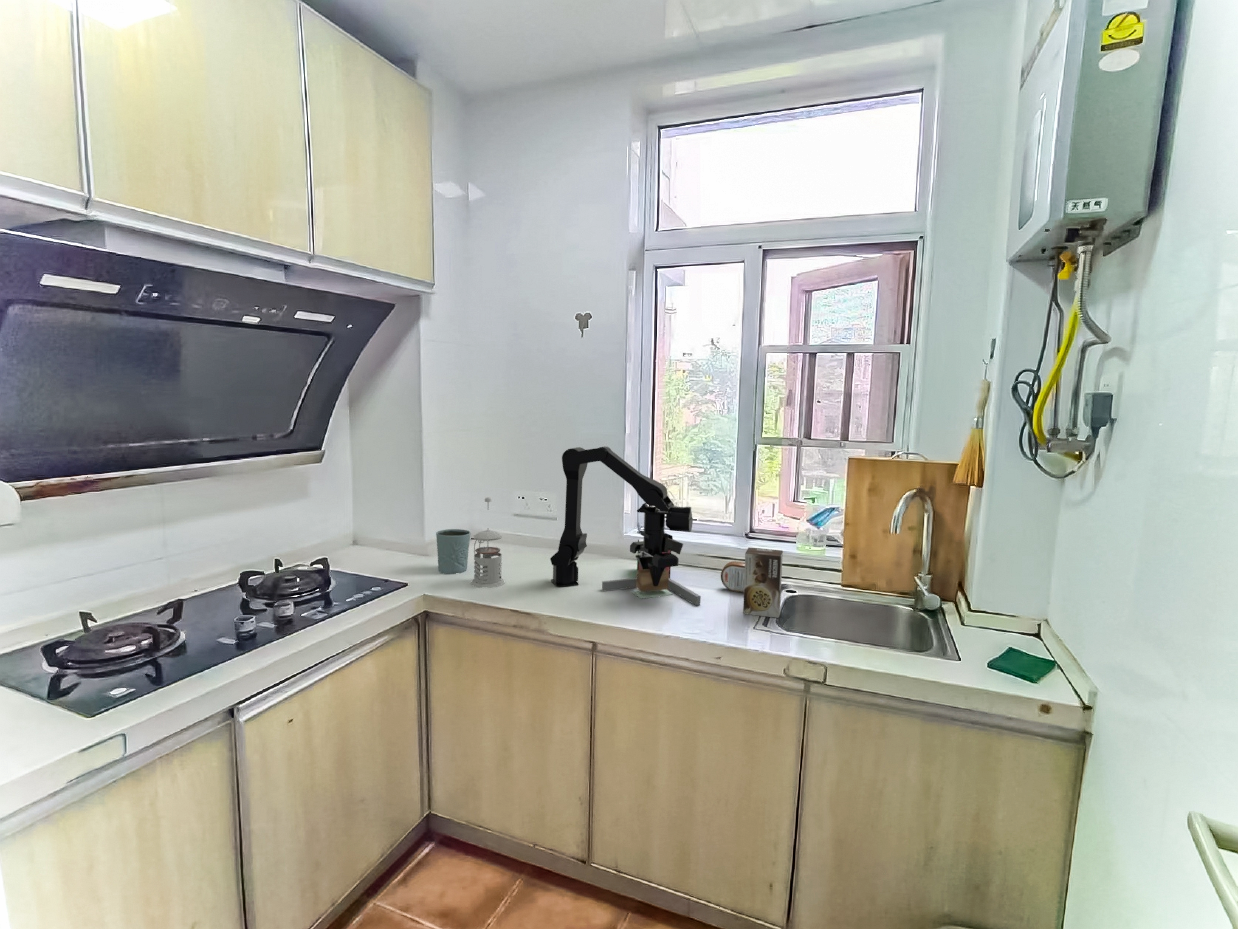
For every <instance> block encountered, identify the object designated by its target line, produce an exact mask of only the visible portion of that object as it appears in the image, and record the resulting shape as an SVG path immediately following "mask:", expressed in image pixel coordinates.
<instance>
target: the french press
mask: <svg viewBox="0 0 1238 929" xmlns="http://www.w3.org/2000/svg"><path fill="white" fill-rule="evenodd" d="M484 502H486V503H487V509H489V503H491V502H492V498H491V497H488V496H487V497H485V499H484ZM473 538H474V539H475V541H474V543H473V544H474V545H473V546H474V547H473V553H474V554H473V555H474V556H473V559H474V560H473V564H474V566H473V569H474V571H473V572H474V574H473V579H472V580H471V581H472V582H471V581H470V585H471V584H472V585H474V586H473V587H475V586H476V588H482V587H490V588H495V587H500V586H502V585H501V584H503V585H504V584H505V583H504V581H505V579H503V577H502V567H503V566H502V563H503V562H502V558H503V557H502V556H503V554H502V553H500V552H501V548H500V547H497V546H496V547H495V546H489V544H487V546H481V544H484V543H485V542H491V541H497V540H500V539H502V538H503V535H502V534H501V533H500V532H498V531H495V530H490V529H486V530H482V531H479V532H478V533H475V534H474V535H473ZM477 542H478V543H479V545H478V547H477V548H476V543H477ZM481 555H482V556H481ZM481 566H482V567H481ZM472 585H471V586H472Z"/></svg>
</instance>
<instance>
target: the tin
mask: <svg viewBox="0 0 1238 929" xmlns="http://www.w3.org/2000/svg"><path fill="white" fill-rule="evenodd" d="M744 578H745V562H741V561H736V560H735V561H729V562H728V563H726V564H725V565H724V566H723V568H722V570H721V572H720V581H721V583H722V585H723V586H724V587H725V588H726V589H728V591H730V592H731V591H732V592H736V593H743V594H744Z"/></svg>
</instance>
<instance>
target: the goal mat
mask: <svg viewBox="0 0 1238 929" xmlns="http://www.w3.org/2000/svg"><path fill="white" fill-rule="evenodd" d="M630 592H631V593H632V594H633V595H635V596H636V597H637V596H638V598H639V599H640V598H643V599H649V598H650V599H652V598H658V597H659V596H660V597H668V596H673V595H674V593H673V592H671V591H670V590H669V589H665V590H654V591H640V590H639V589H638V590H630Z"/></svg>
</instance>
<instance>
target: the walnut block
mask: <svg viewBox="0 0 1238 929" xmlns="http://www.w3.org/2000/svg"><path fill="white" fill-rule="evenodd" d="M636 578H637V583H636V588H637V589H638V590H640V591H654V590H665V589H666V590H669V589H668V585H669V571H667V570H666V569H664V571H663V573H662V576H661V579H660V581H659V584H658V586H654V585H653V582H652V578H651V574H650V570H649V569H641V570H637V569H636Z"/></svg>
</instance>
